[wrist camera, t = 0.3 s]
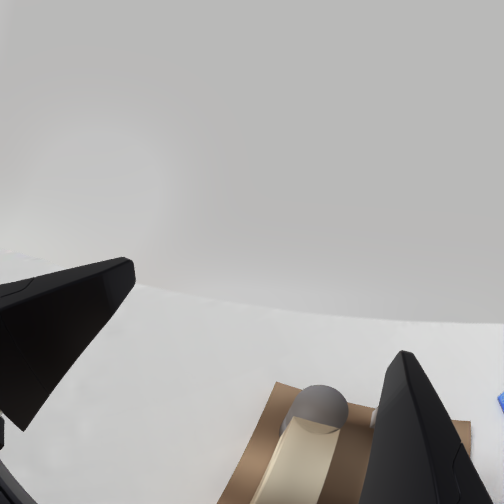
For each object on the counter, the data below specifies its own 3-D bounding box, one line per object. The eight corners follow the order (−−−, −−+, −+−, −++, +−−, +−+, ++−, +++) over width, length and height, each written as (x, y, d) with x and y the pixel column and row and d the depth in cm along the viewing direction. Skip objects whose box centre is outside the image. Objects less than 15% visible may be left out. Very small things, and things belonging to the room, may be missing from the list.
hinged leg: (287, 407, 19) (301, 378, 16) (329, 419, 18) (353, 392, 15) (203, 574, 7) (195, 591, 4) (256, 589, 6) (265, 609, 3)
